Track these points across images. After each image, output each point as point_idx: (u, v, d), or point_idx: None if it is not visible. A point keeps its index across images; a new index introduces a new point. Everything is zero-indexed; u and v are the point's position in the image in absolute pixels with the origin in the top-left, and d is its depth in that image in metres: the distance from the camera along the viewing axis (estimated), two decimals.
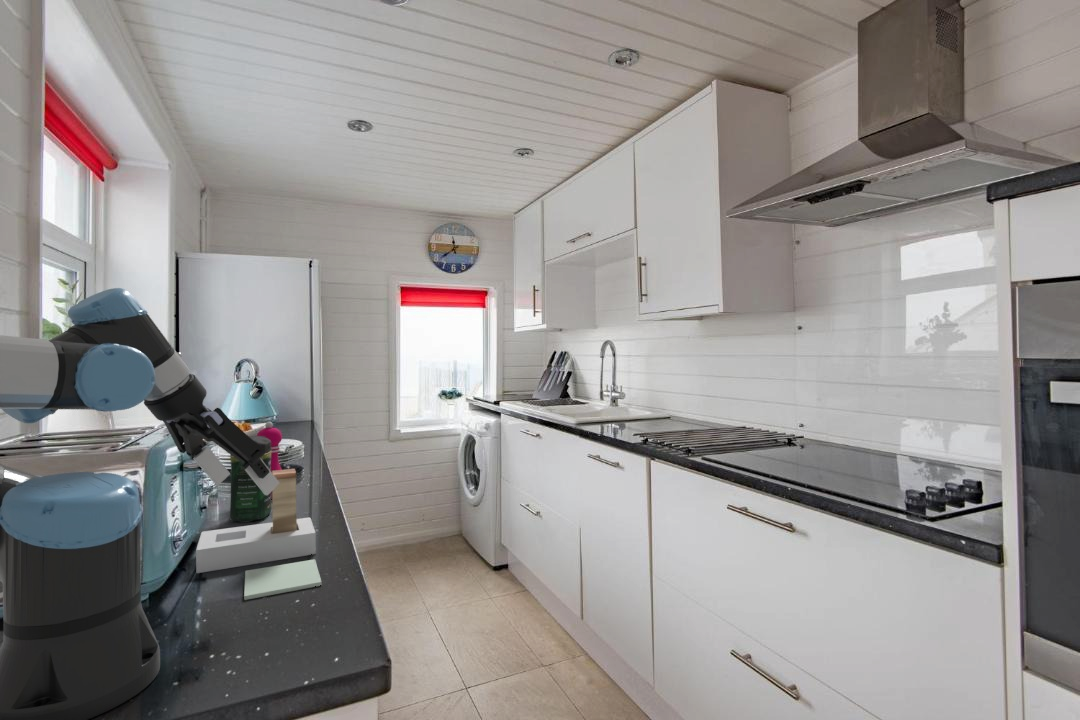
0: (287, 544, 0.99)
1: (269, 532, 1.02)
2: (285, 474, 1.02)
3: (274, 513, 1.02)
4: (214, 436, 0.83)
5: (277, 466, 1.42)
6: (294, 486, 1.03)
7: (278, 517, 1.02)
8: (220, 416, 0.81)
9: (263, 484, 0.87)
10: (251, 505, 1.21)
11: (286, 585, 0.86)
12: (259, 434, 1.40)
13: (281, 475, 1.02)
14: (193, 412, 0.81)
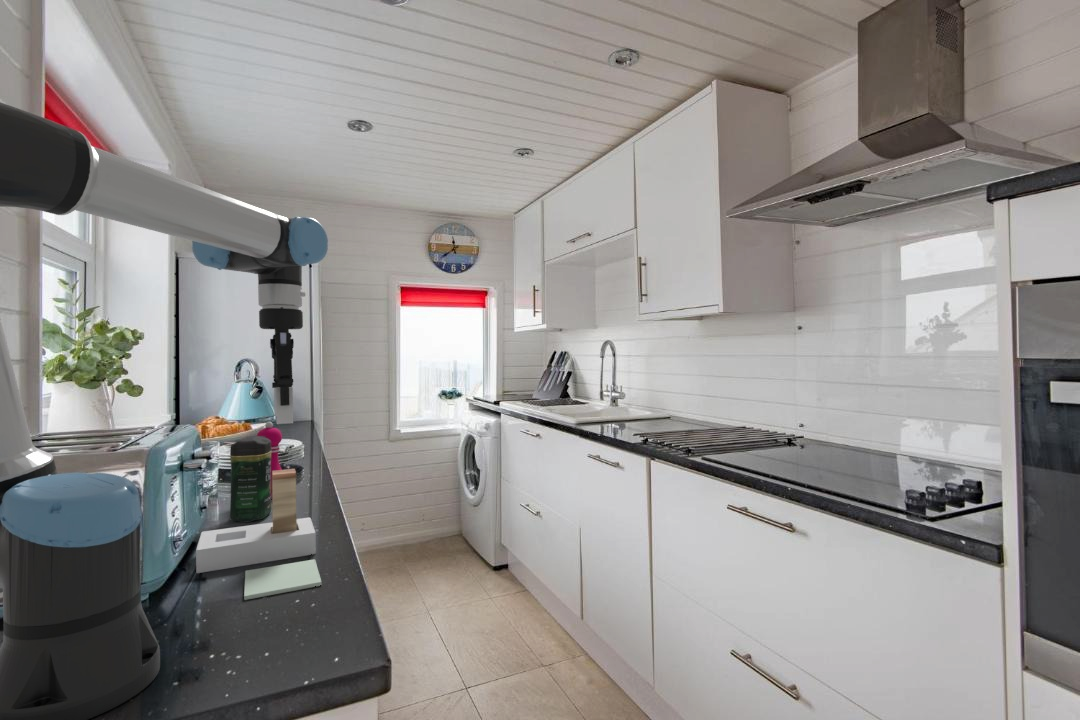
0: (287, 544, 0.99)
1: (269, 532, 1.02)
2: (285, 474, 1.02)
3: (274, 513, 1.02)
4: None
5: (277, 466, 1.42)
6: (294, 486, 1.03)
7: (278, 517, 1.02)
8: (286, 338, 0.98)
9: (280, 413, 0.97)
10: (251, 505, 1.21)
11: (286, 585, 0.86)
12: (259, 434, 1.40)
13: (281, 475, 1.02)
14: (277, 329, 1.00)
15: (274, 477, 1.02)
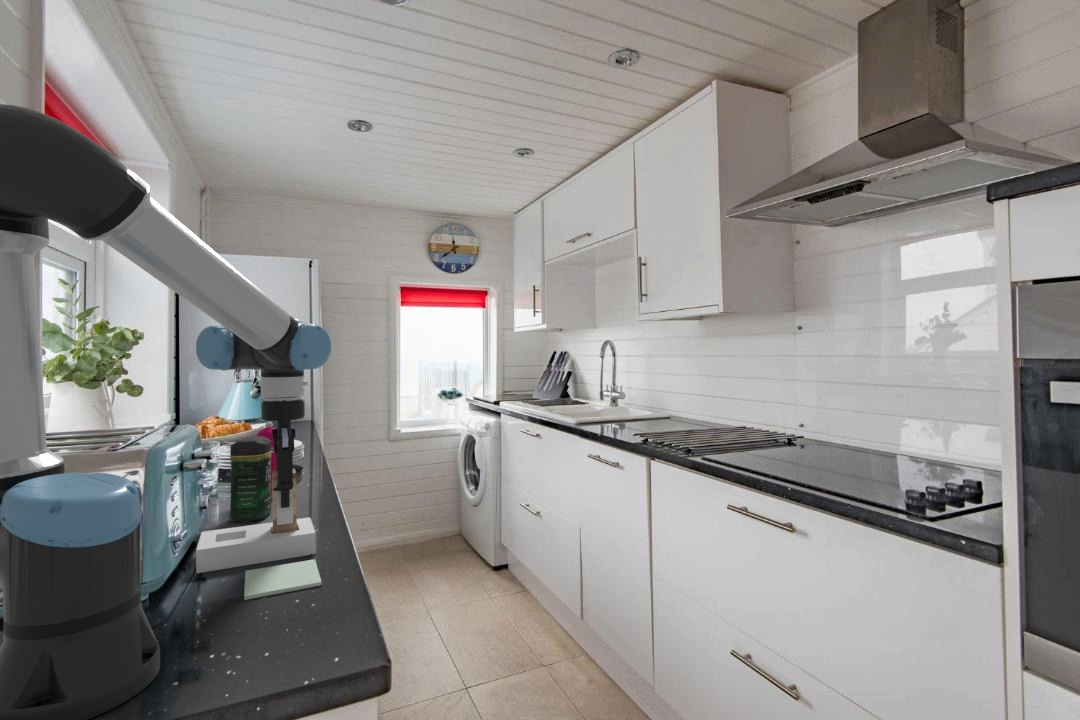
0: (287, 544, 0.99)
1: (269, 532, 1.02)
2: None
3: (274, 513, 1.02)
4: None
5: None
6: (294, 486, 1.03)
7: None
8: (288, 443, 0.99)
9: (280, 514, 1.01)
10: (251, 505, 1.21)
11: (286, 585, 0.86)
12: (259, 434, 1.40)
13: None
14: (279, 423, 1.00)
15: (274, 477, 1.02)
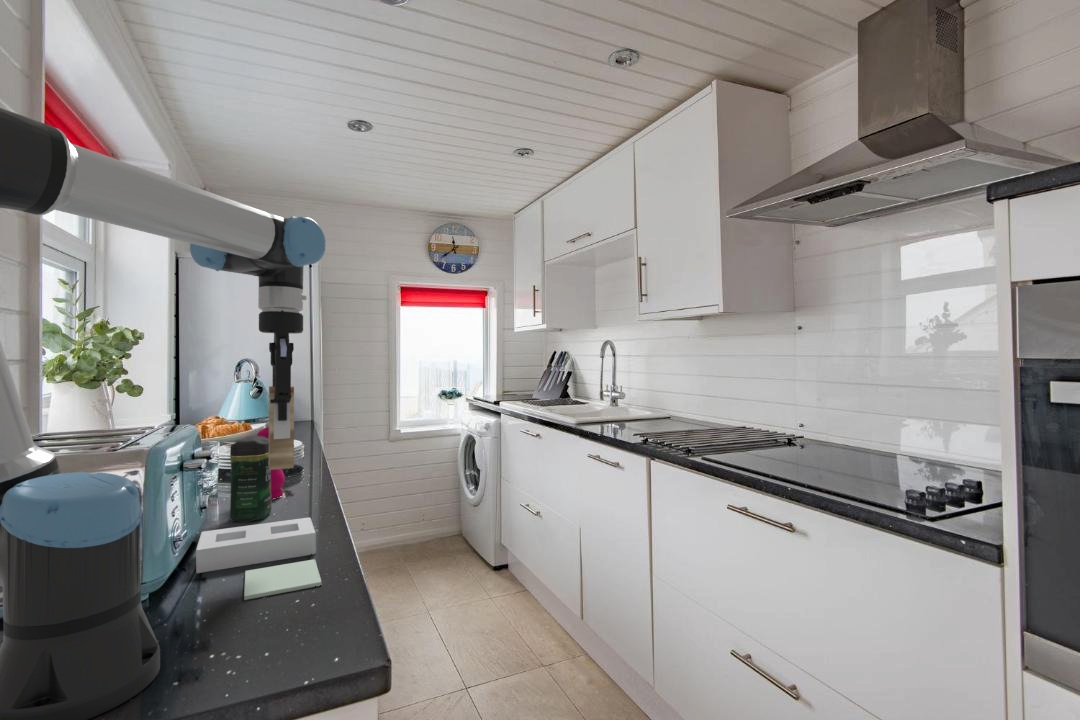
0: (287, 544, 0.99)
1: (269, 532, 1.02)
2: None
3: (271, 427, 0.99)
4: None
5: None
6: (292, 401, 1.00)
7: None
8: (287, 352, 0.96)
9: (277, 428, 0.98)
10: (251, 505, 1.21)
11: (286, 585, 0.86)
12: (259, 434, 1.40)
13: None
14: (277, 333, 0.98)
15: (271, 390, 0.99)
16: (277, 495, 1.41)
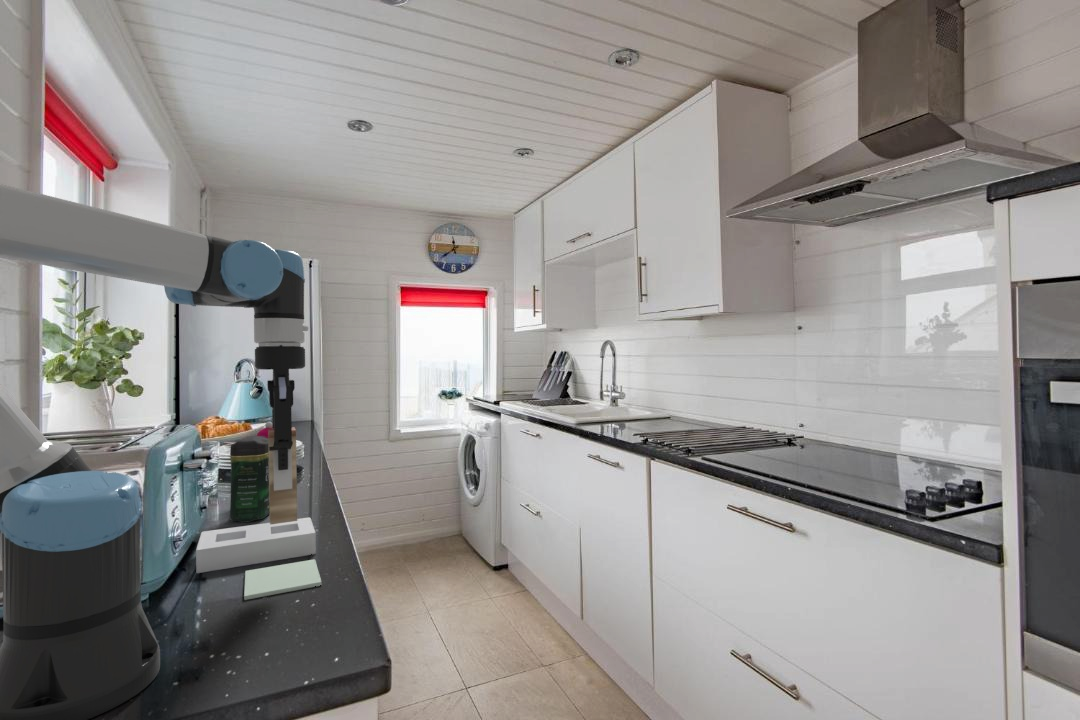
0: (287, 544, 0.99)
1: (269, 532, 1.02)
2: None
3: (271, 476, 0.87)
4: None
5: None
6: (294, 446, 0.89)
7: None
8: (286, 394, 0.84)
9: (277, 478, 0.87)
10: (251, 505, 1.21)
11: (286, 585, 0.86)
12: (259, 434, 1.40)
13: None
14: (275, 371, 0.86)
15: (270, 435, 0.87)
16: None
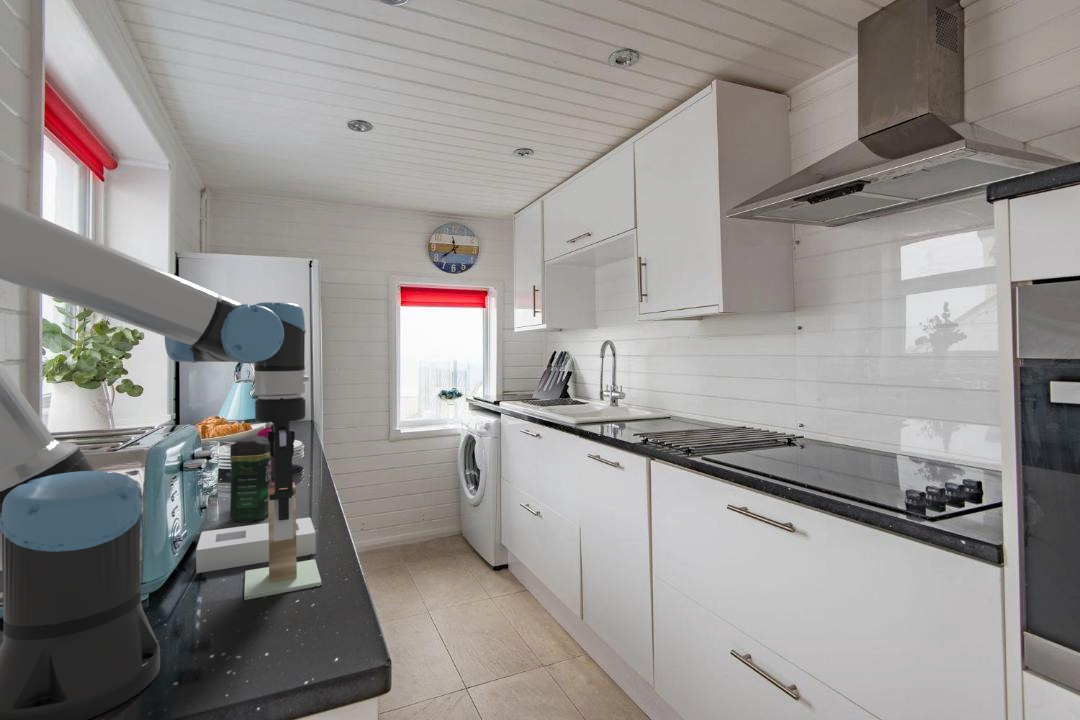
0: None
1: None
2: None
3: (270, 535, 0.87)
4: None
5: None
6: (293, 503, 0.89)
7: None
8: (286, 440, 0.84)
9: (277, 528, 0.84)
10: (251, 505, 1.21)
11: (286, 585, 0.86)
12: (259, 434, 1.40)
13: None
14: (276, 424, 0.86)
15: (270, 493, 0.87)
16: None
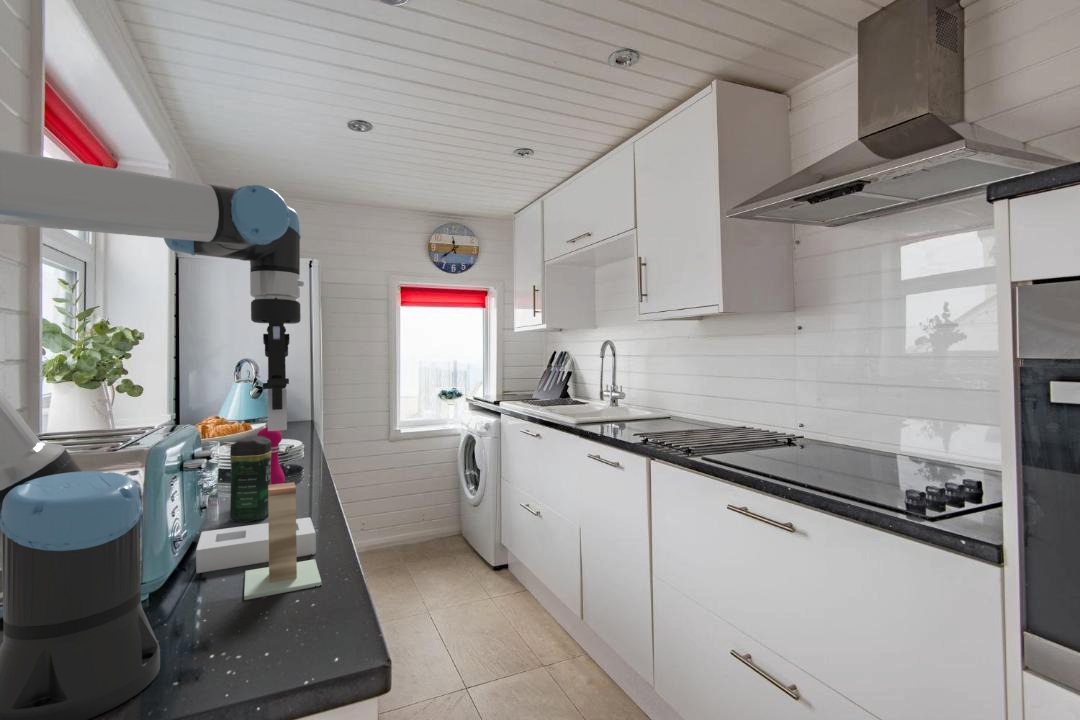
0: None
1: None
2: (283, 489, 0.88)
3: (270, 535, 0.87)
4: None
5: (277, 466, 1.42)
6: (293, 503, 0.89)
7: (275, 540, 0.88)
8: (280, 333, 0.85)
9: (271, 418, 0.85)
10: (251, 505, 1.21)
11: (286, 585, 0.86)
12: (259, 434, 1.40)
13: (278, 490, 0.88)
14: (270, 323, 0.88)
15: (270, 493, 0.87)
16: None
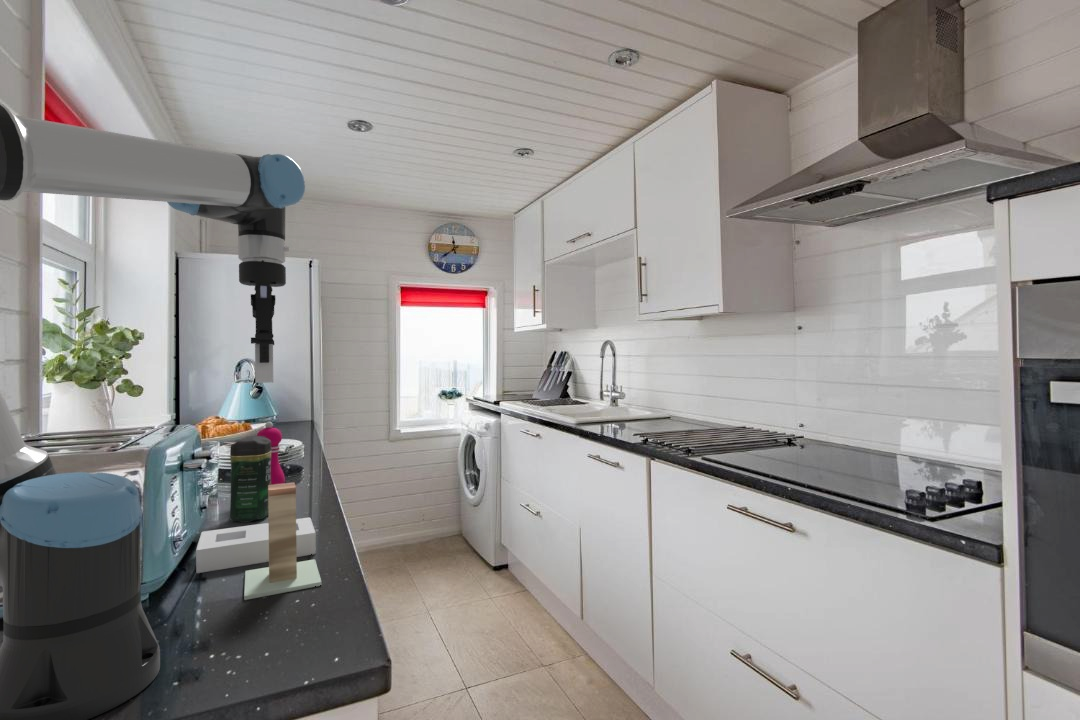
0: None
1: None
2: (283, 489, 0.88)
3: (270, 535, 0.87)
4: None
5: (277, 466, 1.42)
6: (293, 503, 0.89)
7: (275, 540, 0.88)
8: (267, 292, 0.92)
9: (259, 371, 0.91)
10: (251, 505, 1.21)
11: (286, 585, 0.86)
12: (259, 434, 1.40)
13: (278, 490, 0.88)
14: (257, 283, 0.94)
15: (270, 493, 0.87)
16: None
